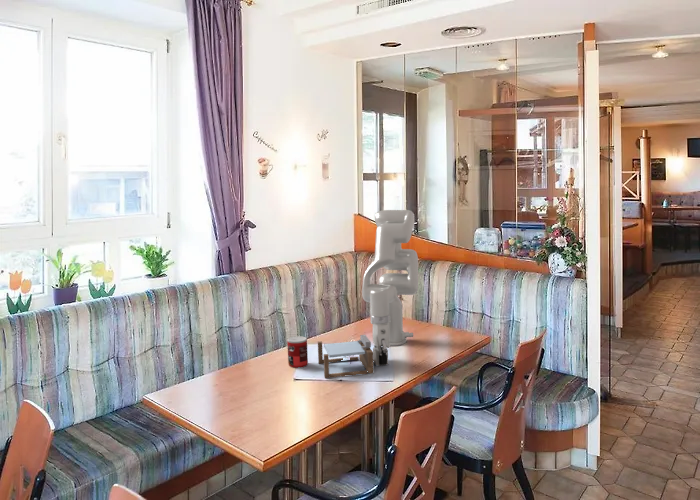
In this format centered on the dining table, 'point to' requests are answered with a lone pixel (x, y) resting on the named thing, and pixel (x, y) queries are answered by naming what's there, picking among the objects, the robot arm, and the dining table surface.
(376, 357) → the light grey block
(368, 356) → the frame
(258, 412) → the dining table surface
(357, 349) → the trapdoor
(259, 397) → the dining table surface
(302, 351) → the canned food
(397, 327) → the robot arm
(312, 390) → the dining table surface
